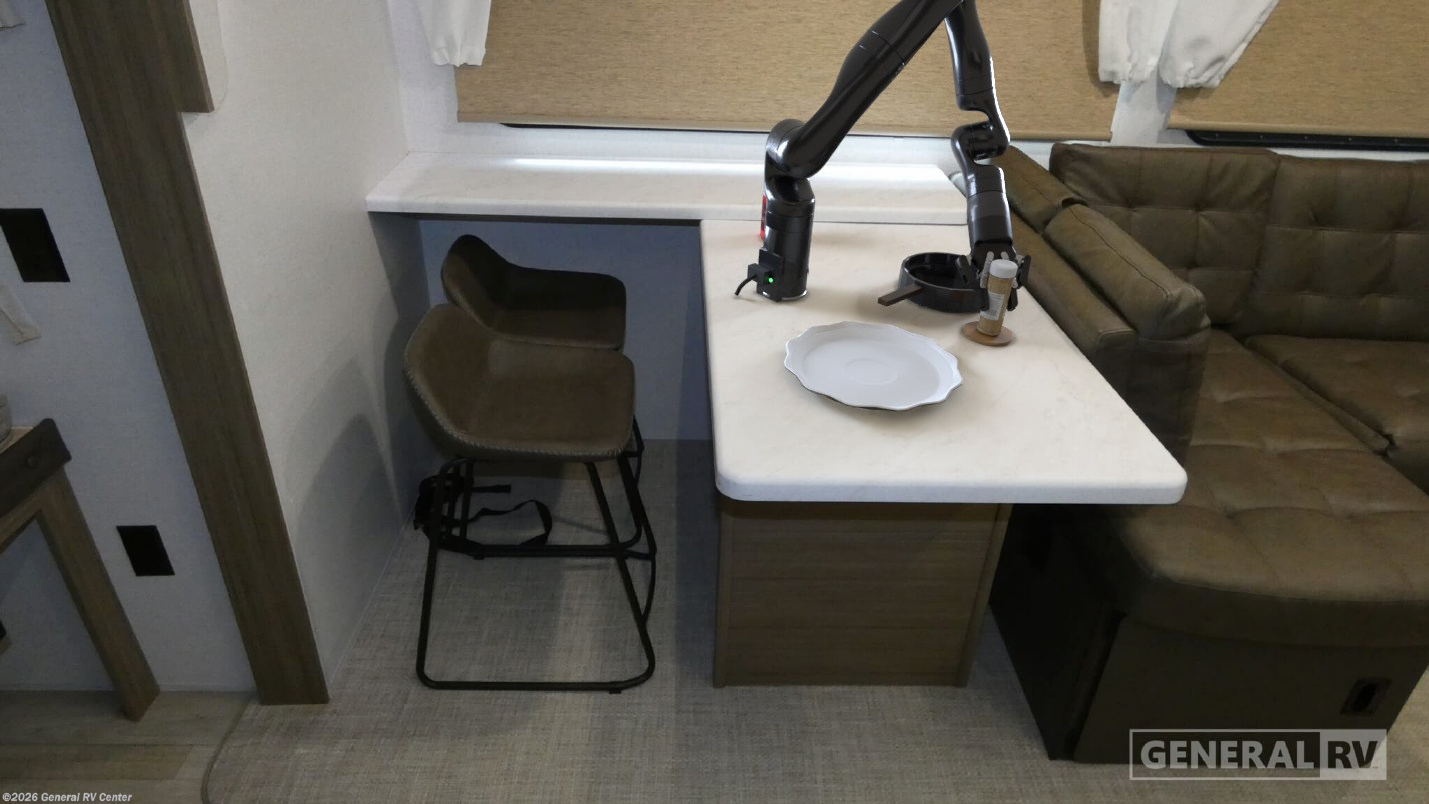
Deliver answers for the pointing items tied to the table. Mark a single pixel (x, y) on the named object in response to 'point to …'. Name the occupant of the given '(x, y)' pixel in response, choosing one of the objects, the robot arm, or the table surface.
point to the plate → (872, 366)
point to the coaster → (978, 337)
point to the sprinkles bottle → (997, 296)
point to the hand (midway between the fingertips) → (998, 309)
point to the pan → (938, 282)
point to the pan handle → (900, 295)
